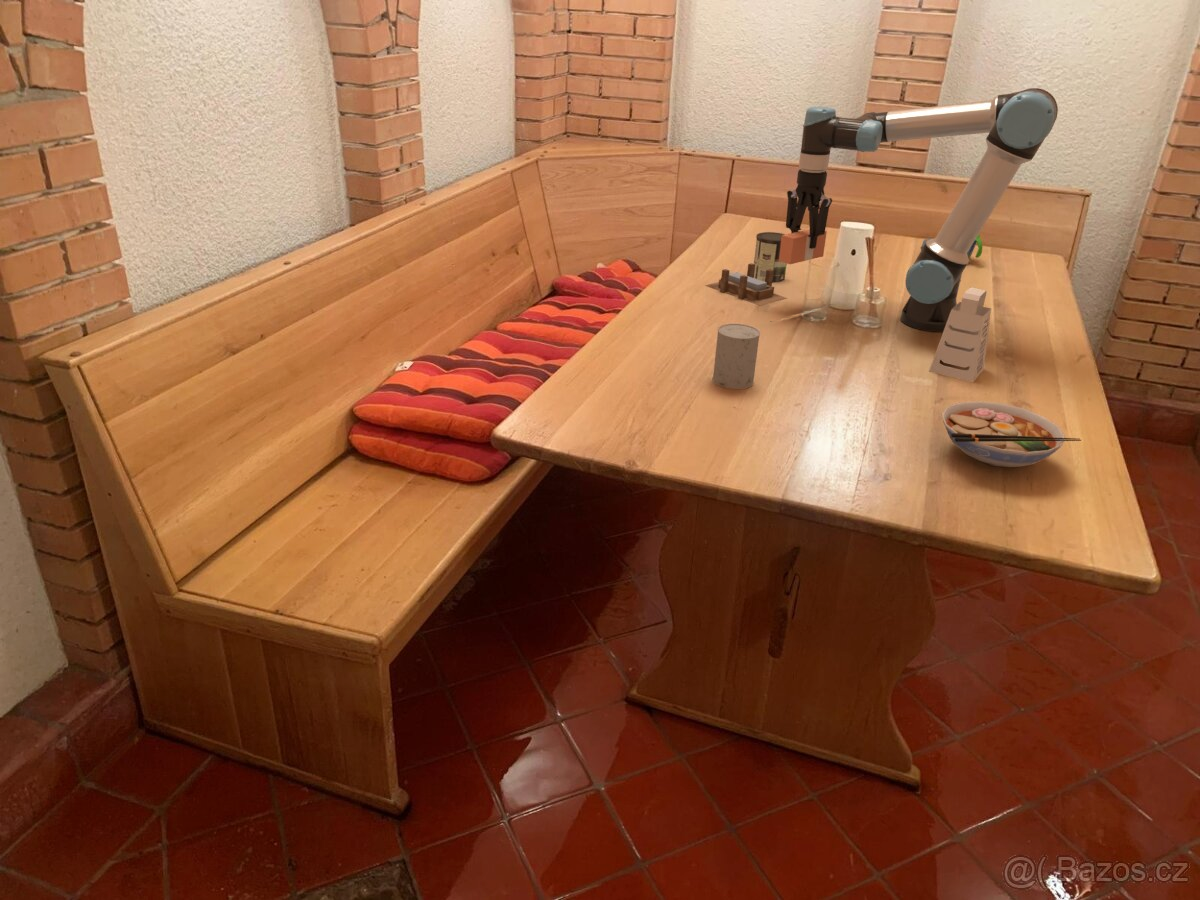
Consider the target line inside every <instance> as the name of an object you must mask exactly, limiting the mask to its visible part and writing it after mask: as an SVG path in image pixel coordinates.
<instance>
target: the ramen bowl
mask: <svg viewBox="0 0 1200 900" xmlns="http://www.w3.org/2000/svg"><path fill="white" fill-rule="evenodd" d="M941 418H942V421H943V424H944V426H945V430H946V432H947V434H948V437H949V439H950V440H951V442H952V443H953V444H954V445H955V446H956V447H957V448H958V449H959V450H961V451H962V452H963V453H964V454H966V455H967V456H969V457H971V458H972V459H975V460H977V461H980V462H982V463H983V464H987V465H988V466H989V465H990V466H993V467H1005V468H1007V467H1008V468H1018V467H1026V466H1027V467H1028V466H1031V465H1034V464H1036V463H1038V462H1040V461H1043V460H1045V459H1046V458H1048V457H1050V456H1052V455H1053V454H1054V453H1056V452H1057V451H1058V450H1059V449H1060V448H1061V447H1062V446H1063V443H1064V442H1080V441H1082V439H1080V438H1073V437H1072V438H1071V437H1066V435H1065V433H1064V432H1063V430H1062V429H1061V427H1060V426H1059V425H1057V424H1056V423H1054V422H1053V421H1052V420H1050V419H1049V418H1047V417H1046V416H1043V415H1041V414H1038V413H1035V412H1033V411H1031V410H1029V409H1026V408H1023V407H1018V406H1015V405H1010V404H1006V403H1002V402H995V401H994V402H993V401H981V400H973V401H961V402H957V403H955V404H952V405H949V406H946V407H945V409H944V411H942V413H941Z"/></svg>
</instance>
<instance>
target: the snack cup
mask: <svg viewBox="0 0 1200 900" xmlns="http://www.w3.org/2000/svg"><path fill="white" fill-rule="evenodd" d="M980 236H981V235H980V233H979V234H978V236H977V238H976V239H975V241H974V242H973V244H972V246H971V247H970V249H969V251H968V252H967V256H968V259H969V261H970V259H971V257H972V255H973V253H974V250H975V247H976V245H977V247H978V248H977V251H976V254H975V256H974V257H975V258H976V259H977V258H980V257H981V255H982V253H983V241H982V239H981V238H980Z"/></svg>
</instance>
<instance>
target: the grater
mask: <svg viewBox="0 0 1200 900" xmlns="http://www.w3.org/2000/svg"><path fill="white" fill-rule="evenodd" d="M986 297H987V290H986V289H985V290H984V289H980V288H976V287H972V286H971V287H969V288H968V289H967V290H965V292H964V293H963V295H962V299H961V301H959V302H958V303H957V305H956V306H955V307H954V308H952V309H951V312H950V315H949V317H948V320H947V323H946V326H945V328H944V331H943V332H942V334H941V337H940V339H939V343H938V346H937V348H936V350H935V353H934V357H933V360H932V362H931V365H930V367H929V369H928V372H930V373H934V374H937V375H942V376H945V377H950V378H954V379H959V380H961V381H966V382H970V383H974V382H975V381H976V379H978V377H979V376H980V375H981V374H982V373H983V371H984V369H985V364H986V355H987V348H988V347H987V346H988V340H989V339H988V337H989V329H990V322H991V321H990V320H991V312H992V308H991V307H987V306H984V305H985V301H986ZM941 361H942V362H943V363H944V364H949V365H953V366H956V367H961V368H964V369H965V368H968V369H965V370H964V369H959V368H955V367H950V366H947V365H943V364H942V363H940V362H941Z"/></svg>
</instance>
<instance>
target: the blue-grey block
mask: <svg viewBox="0 0 1200 900" xmlns="http://www.w3.org/2000/svg"><path fill="white" fill-rule="evenodd" d="M743 275H745V276H747V274H743V273H741V272H732V273H729V280H728V281H730V282H733V283H736V284H739V283H740V276H743ZM747 288H750V289H753V290H756V291H760V290H764V289H766V288H767V282H764V281H761V280H758V279H755V278H752V277H749V276H748V279H747Z"/></svg>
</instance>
